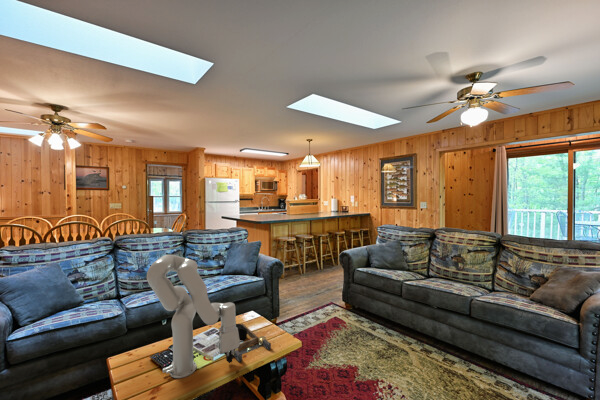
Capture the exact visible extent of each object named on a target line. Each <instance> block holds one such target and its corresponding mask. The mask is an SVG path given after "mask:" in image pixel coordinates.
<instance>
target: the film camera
mask: <svg viewBox="0 0 600 400" xmlns="http://www.w3.org/2000/svg"><path fill="white" fill-rule="evenodd" d="M241 324H242V323H236V327H237V328H238V333H239V340H243V341H242V342H245V341H247V339H248V334H247V331H248V329H249V328H248V329H246V328H245V327H243V326H242V325H241Z"/></svg>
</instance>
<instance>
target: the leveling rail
mask: <svg viewBox="0 0 600 400" xmlns="http://www.w3.org/2000/svg"><path fill="white" fill-rule="evenodd" d="M262 347H264V346H263V345H259V343H256V344H253V345H250V346H248V347H245V348H243V349H240V350H238V351H239V352H240V354H242V355H244V354H246V353H249V352H251V351H255V350H257V349H259V348H262ZM234 358H235V357H234V356H233V359H234Z"/></svg>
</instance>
